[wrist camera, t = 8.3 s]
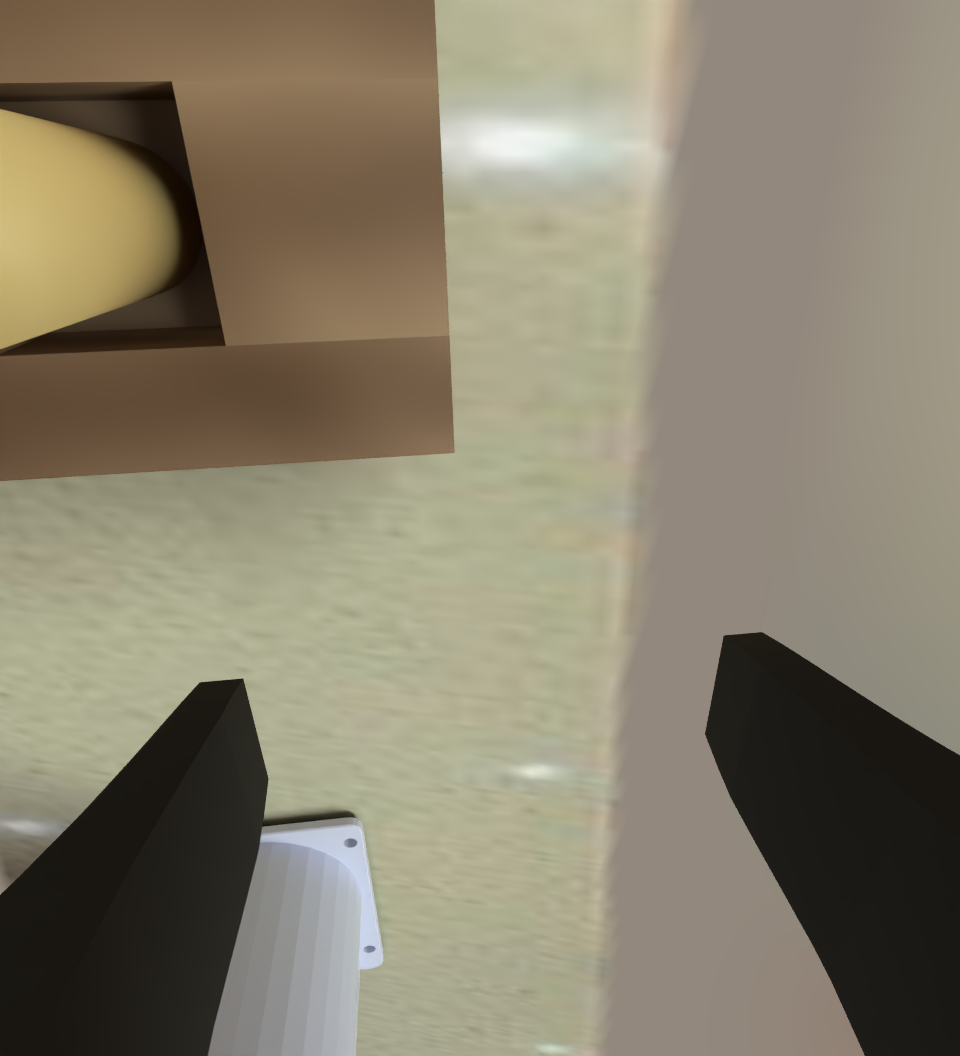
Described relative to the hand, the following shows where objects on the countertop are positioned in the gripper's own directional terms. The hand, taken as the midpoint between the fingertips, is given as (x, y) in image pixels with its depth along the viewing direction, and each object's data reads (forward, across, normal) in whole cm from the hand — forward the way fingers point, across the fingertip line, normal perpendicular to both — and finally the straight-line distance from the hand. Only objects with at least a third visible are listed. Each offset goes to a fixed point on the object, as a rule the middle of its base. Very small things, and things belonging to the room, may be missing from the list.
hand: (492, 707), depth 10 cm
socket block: (+10, +7, -6) cm, 14 cm away
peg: (+9, +7, -6) cm, 13 cm away
